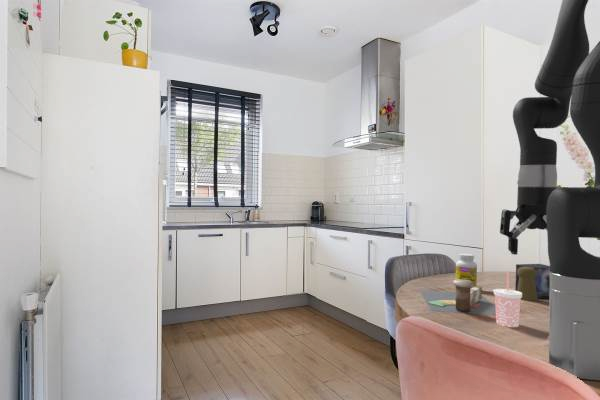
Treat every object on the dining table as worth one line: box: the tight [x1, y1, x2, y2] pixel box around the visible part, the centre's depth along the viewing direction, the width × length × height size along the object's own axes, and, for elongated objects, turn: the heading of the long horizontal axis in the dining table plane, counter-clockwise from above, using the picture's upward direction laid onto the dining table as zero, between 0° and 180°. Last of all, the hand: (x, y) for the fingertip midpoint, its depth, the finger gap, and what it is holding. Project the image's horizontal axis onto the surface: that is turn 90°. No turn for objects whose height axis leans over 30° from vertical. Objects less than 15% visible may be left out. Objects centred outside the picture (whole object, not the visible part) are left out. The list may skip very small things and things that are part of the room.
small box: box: [514, 263, 550, 300], centre depth 120 cm, size 11×6×10 cm, turn 105°
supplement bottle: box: [455, 253, 478, 289], centre depth 126 cm, size 7×7×13 cm
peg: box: [453, 278, 483, 311], centre depth 103 cm, size 17×5×8 cm, turn 139°
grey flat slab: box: [419, 289, 496, 316], centre depth 108 cm, size 24×19×2 cm
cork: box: [517, 267, 539, 302], centre depth 112 cm, size 6×6×11 cm
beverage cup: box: [493, 270, 522, 328], centre depth 88 cm, size 6×6×14 cm
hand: (534, 254), depth 84 cm, fingers open, 8 cm apart
